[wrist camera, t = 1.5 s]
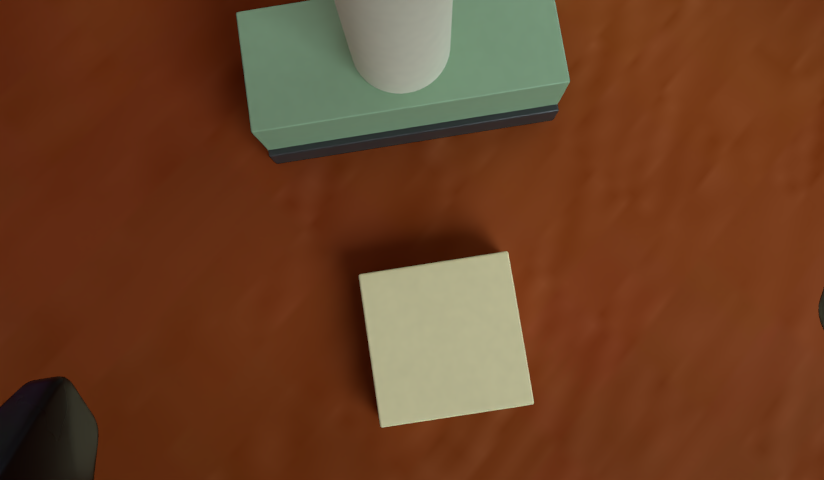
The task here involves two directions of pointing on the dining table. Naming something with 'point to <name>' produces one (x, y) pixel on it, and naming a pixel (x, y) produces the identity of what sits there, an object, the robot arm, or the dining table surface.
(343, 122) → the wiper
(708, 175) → the dining table surface
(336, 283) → the dining table surface
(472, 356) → the pale yellow square block
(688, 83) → the dining table surface
